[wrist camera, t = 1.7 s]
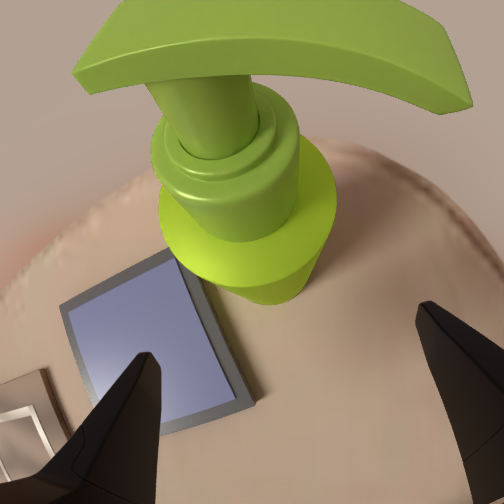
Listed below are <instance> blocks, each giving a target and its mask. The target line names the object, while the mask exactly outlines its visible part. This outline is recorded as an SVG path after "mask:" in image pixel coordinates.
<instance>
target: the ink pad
mask: <svg viewBox="0 0 504 504" xmlns="http://www.w3.org/2000/svg"><path fill="white" fill-rule="evenodd" d="M59 308H60V312H61V315H62V319H63V322H64V326H65V329H66V333H67V336H68V339H69V342H70V345H71V348H72V351H73V354H74V357H75V360H76V363H77V366H78V369H79V371H80V374H81V377H82V379H83V382H84V384H85V387H86V389H87V392H88V394H89V397H90V399H91V402H92V404H93V406H94V407H95V406H96V405H97V404H98V402H99V401H100V400H101V399H102V397H103V396H104V395H105V394H106V392H107V391H108V390H109V389H110V387H111V386H112V385H113V384H114V382H115V381H116V380H117V379H118V377H119V376H120V375H121V374H122V372H123V371H124V370H125V369H126V368H127V366H128V365H129V364H130V363H131V361H132V360H133V359H134V358H135V356H136V355H137V354H138V353H140V352H147V351H149V352H151V353H152V354H153V356H154V357H155V359H156V360H157V362H158V363H159V365H160V367H161V371H162V412H161V423H160V434H159V436H162V435H166V434H169V433H173V432H177V431H180V430H184V429H187V428H191V427H194V426H197V425H200V424H204V423H207V422H210V421H213V420H216V419H219V418H222V417H225V416H228V415H231V414H233V413H236V412H239V411H242V410H245V409H247V408H250V407H253V406H255V404H256V400H255V398H254V396H253V394H252V392H251V389H250V387H249V385H248V383H247V381H246V379H245V377H244V375H243V373H242V371H241V368H240V366H239V364H238V362H237V360H236V358H235V356H234V353H233V351H232V349H231V347H230V345H229V342H228V340H227V338H226V336H225V333H224V331H223V329H222V327H221V324H220V322H219V320H218V318H217V315H216V313H215V311H214V308H213V306H212V304H211V301H210V299H209V297H208V294H207V292H206V290H205V287H204V285H203V282H202V280H201V278H200V277H199V276H197V275H195V274H194V273H192V272H191V271H190V270H188V269H187V268H186V267H185V266H184V265H183V264H182V263H181V262H180V261H179V260H178V259H177V258H176V257H175V256H174V254H173V253H172V251H171V250H170V248H169V247H168V248H166V249H164V250H162V251H160V252H158V253H156V254H155V255H153V256H151V257H149V258H147V259H145V260H143V261H141V262H139V263H137V264H135V265H133V266H131V267H129V268H127V269H126V270H124V271H122V272H120V273H118V274H116V275H114V276H112V277H110V278H109V279H107V280H105V281H103V282H101V283H99V284H97V285H96V286H94V287H92V288H90V289H88V290H86V291H85V292H83V293H81V294H79V295H77V296H75V297H74V298H72V299H70V300H68V301H66V302H65V303H63V304H61V305H59Z"/></svg>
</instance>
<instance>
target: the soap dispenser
mask: <svg viewBox="0 0 504 504" xmlns="http://www.w3.org/2000/svg"><path fill="white" fill-rule="evenodd" d="M72 75H73V76H74V77H75V78H76V79H77V81H78V82H79V83H80V84H81V85H82V87H83V88H84V89H85V90H86V91H87V92H88V93H89V94H94V93H99V92H103V91H108V90H112V89H117V88H121V87H127V86H133V85H138V84H145V85H146V87H147V88H148V90H149V92H150V93H151V95H152V96H153V98H154V100H155V101H156V103H157V105H158V106H159V108H160V110H161V111H162V113H163V114H164V115H163V116H162V118H161V119H160V121H159V123H158V125H157V127H156V129H155V131H154V134H153V138H152V142H151V162H152V166H153V169H154V171H155V174H156V176H157V178H158V179H159V181H160V183H161V184H162V187H161V191H160V196H159V207H158V210H159V221H160V226H161V230H162V233H163V236H164V238H165V241H166V243H167V245H168V247H169V248H170V250H171V251H172V253H173V254H174V256H175V257H176V258H177V259H178V260H179V261H180V262H181V263H182V264H183V265H184V266H185V267H186V268H187V269H188V270H190V271H191V272H192V273H194V274H195V275H197V276H199V277H201V278H203V279H205V280H207V281H209V282H211V283H213V284H215V285H218V286H220V287H222V288H224V289H226V290H228V291H231V292H233V293H235V294H237V295H240V296H242V297H244V298H246V299H248V300H251V301H253V302H255V303H258V304H263V305H277V304H281V303H284V302H286V301H289V300H290V299H292V298H293V297H295V296H296V295H297V294H298V293H299V292H300V291H301V290H302V289H303V287H304V286H305V284H306V282H307V280H308V278H309V276H310V274H311V272H312V270H313V268H314V266H315V264H316V262H317V259H318V257H319V255H320V253H321V251H322V249H323V247H324V245H325V242H326V240H327V238H328V236H329V234H330V231H331V229H332V226H333V223H334V219H335V215H336V208H337V192H336V185H335V181H334V177H333V174H332V172H331V169H330V167H329V165H328V163H327V161H326V160H325V158H324V157H323V155H322V154H321V153H320V151H319V150H318V149H317V148H316V147H315V146H314V145H313V144H312V143H311V142H310V141H309V140H308V139H306V138H305V137H304V136H302V135H301V134H300V132H299V126H298V122H297V119H296V116H295V114H294V112H293V110H292V108H291V107H290V105H289V104H288V102H287V101H286V100H285V99H284V98H283V97H281V96H280V95H279V94H278V93H277V92H275V91H273V90H272V89H270V88H268V87H266V86H263V85H261V84H258V83H254V82H252V81H251V75H283V76H297V77H308V78H316V79H323V80H329V81H335V82H341V83H346V84H350V85H355V86H359V87H363V88H367V89H370V90H374V91H377V92H381V93H384V94H387V95H390V96H393V97H395V98H398V99H401V100H403V101H406V102H408V103H411V104H413V105H416V106H418V107H420V108H423V109H425V110H428V111H430V112H432V113H435V114H438V115H443V114H447V113H453V112H458V111H462V110H465V109H468V108H471V107H473V101H472V98H471V95H470V91H469V88H468V85H467V82H466V79H465V76H464V74H463V71H462V68H461V65H460V63H459V60H458V58H457V55H456V53H455V50H454V48H453V46H452V44H451V41H450V39H449V37H448V35H447V33H446V31H445V29H444V27H443V26H442V25H441V24H440V23H438V22H437V21H436V20H434V19H433V18H431V17H430V16H428V15H426V14H424V13H423V12H421V11H419V10H417V9H415V8H414V7H412V6H410V5H408V4H406V3H404V2H401V1H399V0H125V1H122V2H121V3H120V4H119V5H118V7H117V8H116V9H115V10H114V12H113V13H112V14H111V15H110V17H109V18H108V19H107V21H106V22H105V23H104V25H103V26H102V28H101V29H100V30H99V32H98V33H97V35H96V36H95V37H94V39H93V40H92V42H91V43H90V45H89V46H88V48H87V49H86V51H85V52H84V54H83V55H82V57H81V58H80V60H79V62H78V63H77V65H76V66H75V68H74V70H73V72H72Z"/></svg>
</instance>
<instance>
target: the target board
mask: <svg viewBox="0 0 504 504" xmlns="http://www.w3.org/2000/svg"><path fill="white" fill-rule="evenodd" d="M70 438H71V435H70V432H69V430H68V428H67V426H66V424H65V421H64V419H63V417H62V414H61V412H60V410H59V407H58V405H57V402H56V400H55V397H54V395H53V392H52V389H51V387H50V384H49V381H48V378H47V375H46V373H45V370H44V369H41V370H37V371H35V372H32V373H30V374H28V375H25V376H23V377H20V378H18V379H15V380H13V381H11V382H8V383H6V384H3V385H1V386H0V482H1V483H4V482H9V481H13V480H17V479H21V478H25V477H29V476H32V475H34V474H35V473H37V472H38V471H40V470H41V469H42V468H43V467H44V466H45V465H46V464H47V463H48V462H49V461H50V460H51V458H52V457H53V456H54V455H55V454H56V453H57V452H58V451H59V450H60V449H61V448H62V447H63V446H64V445H65V443H66V442H67V441H68V440H69V439H70Z"/></svg>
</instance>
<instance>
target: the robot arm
mask: <svg viewBox="0 0 504 504" xmlns="http://www.w3.org/2000/svg"><path fill="white" fill-rule="evenodd" d="M415 324H416V328H417V331H418V334H419V337H420V341H421V344H422V347H423V350H424V354H425V357H426V360H427V363H428V366H429V368H430V371H431V373H432V376H433V378H434V381H435V383H436V386H437V388H438V391H439V393H440V396H441V399H442V401H443V404H444V407H445V409H446V412H447V415H448V418H449V421H450V423H451V426H452V429H453V432H454V435H455V438H456V441H457V445H458V448H459V451H460V454H461V458H462V461H463V465H464V468H465V472H466V476H467V479H468V483H469V487H470V491H471V495H472V500H473V504H489V503H491V502H494V501H496V500H498V499H500V498H502V497H504V349H502V348H501V347H499V346H498V345H497V344H495V343H494V342H492V341H491V340H489V339H488V338H487V337H485V336H484V335H482V334H481V333H479V332H478V331H476V330H475V329H473V328H472V327H470V326H469V325H468V324H466V323H465V322H463V321H462V320H460V319H459V318H457V317H456V316H454V315H453V314H451V313H450V312H448V311H446V310H445V309H443V308H442V307H440V306H439V305H437V304H436V303H434V302H433V301H425V302H422V303H420V304H419V306H418V311H417V315H416V320H415ZM161 412H162V371H161V367H160V365H159V363H158V362H157V360H156V359H155V357H154V356H153V354H152V353H151V352H149V351H147V352H140V353H138V354H137V355H136V356H135V358H134V359H133V360H132V361H131V363H130V364H129V365H128V366H127V368H126V369H125V370H124V371H123V372H122V374H121V375H120V376H119V377H118V379H117V380H116V381H115V382H114V384H113V385H112V386H111V387H110V389H109V390H108V391H107V392H106V394H105V395H104V396H103V397H102V399H101V400H100V401H99V402H98V404H97V405H96V406H95V407H94V409H93V410H92V411H91V412H90V414H89V415H88V416H87V418H86V419H85V420H84V421H83V423H82V424H81V425H80V426H79V428H78V429H77V430H76V431H75V433H74V434H73V435H72V436H71V438H70V439H69V440H68V441H67V442H66V443H65V445H64V446H63V447H62V448H61V449H60V450H59V451H58V452H57V453H56V454H55V455H54V456H53V457H52V458H51V460H50V461H49V462H48V463H47V464H46V465H45V466H44V467H43V468H42V469H41V470H40V471H38V472H37V473H35V474H34V475H32V476H29V477H25V478H21V479H17V480H13V481H9V482H4V483H0V504H155V497H156V477H157V461H158V447H159V434H160V423H161ZM502 504H504V503H502Z"/></svg>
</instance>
